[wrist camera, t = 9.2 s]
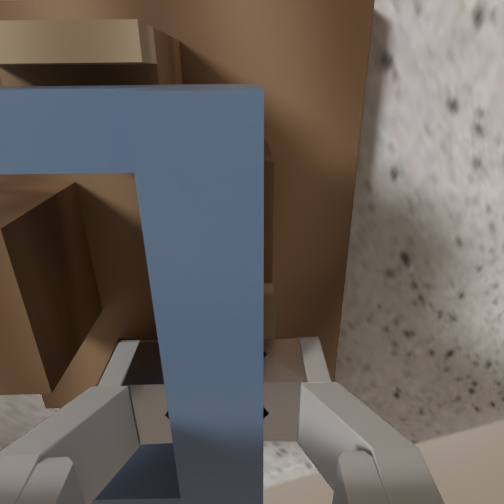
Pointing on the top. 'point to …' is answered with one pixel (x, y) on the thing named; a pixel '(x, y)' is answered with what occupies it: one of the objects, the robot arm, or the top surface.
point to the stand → (123, 184)
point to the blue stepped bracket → (176, 260)
